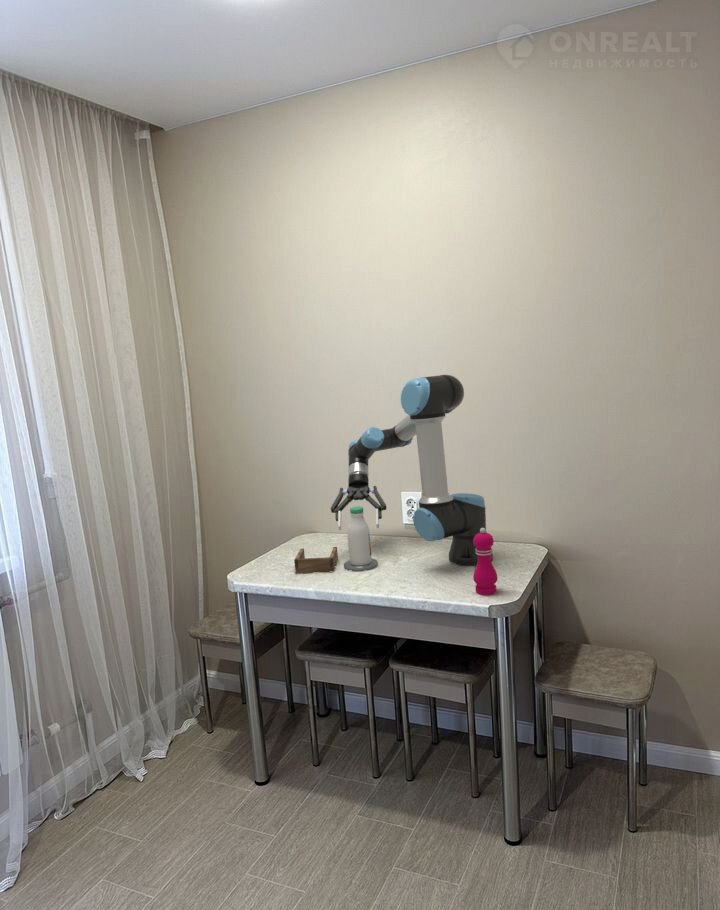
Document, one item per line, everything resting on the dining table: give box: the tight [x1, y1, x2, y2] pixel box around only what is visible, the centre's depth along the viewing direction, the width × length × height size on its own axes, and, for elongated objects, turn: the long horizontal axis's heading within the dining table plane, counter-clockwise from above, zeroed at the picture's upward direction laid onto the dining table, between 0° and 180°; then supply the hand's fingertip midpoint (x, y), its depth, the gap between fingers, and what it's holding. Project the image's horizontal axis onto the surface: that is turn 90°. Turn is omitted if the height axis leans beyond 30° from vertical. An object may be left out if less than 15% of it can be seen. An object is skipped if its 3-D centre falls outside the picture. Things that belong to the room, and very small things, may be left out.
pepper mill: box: [473, 528, 498, 596], centre depth 212 cm, size 7×7×20 cm
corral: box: [293, 546, 339, 574], centre depth 250 cm, size 13×13×5 cm
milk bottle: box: [347, 506, 373, 566], centre depth 246 cm, size 8×8×20 cm
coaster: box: [343, 557, 379, 572], centre depth 248 cm, size 12×12×1 cm
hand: (358, 527), depth 252 cm, fingers open, 13 cm apart
